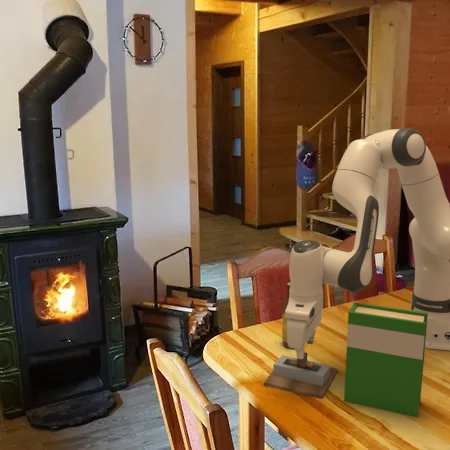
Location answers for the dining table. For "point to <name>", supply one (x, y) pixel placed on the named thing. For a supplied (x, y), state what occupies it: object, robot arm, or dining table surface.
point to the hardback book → (385, 358)
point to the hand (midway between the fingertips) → (305, 350)
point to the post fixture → (299, 385)
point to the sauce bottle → (285, 319)
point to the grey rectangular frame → (302, 371)
